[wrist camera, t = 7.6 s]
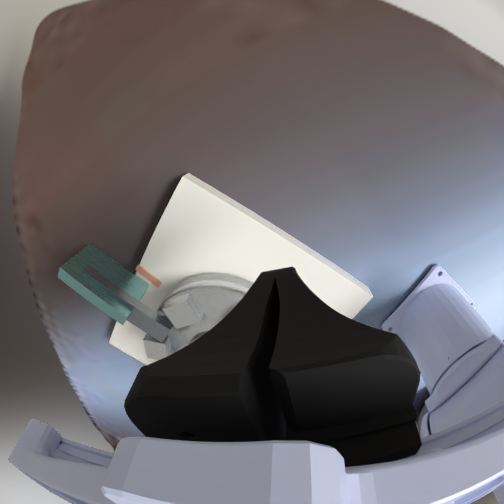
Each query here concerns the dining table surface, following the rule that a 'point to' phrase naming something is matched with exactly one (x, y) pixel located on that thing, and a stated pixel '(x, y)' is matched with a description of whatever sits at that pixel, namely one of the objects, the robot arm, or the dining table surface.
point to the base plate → (227, 256)
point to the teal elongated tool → (169, 311)
